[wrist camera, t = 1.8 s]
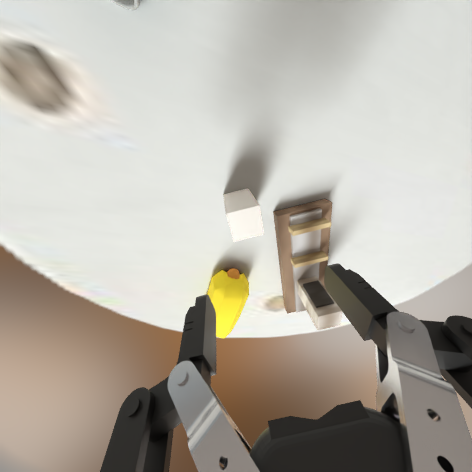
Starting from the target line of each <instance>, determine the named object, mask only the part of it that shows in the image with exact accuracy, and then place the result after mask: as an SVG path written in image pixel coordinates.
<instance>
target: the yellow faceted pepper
mask: <svg viewBox="0 0 472 472" xmlns="http://www.w3.org/2000/svg"><path fill="white" fill-rule="evenodd" d="M207 294H208V295H209V297H210V299H211V302H212V304H213V306H214V308H215V312H216V336H217V337H220V338H225V337H226V336H227V335H228V334H229V333H230V332H231V331H232V329H233V327H234V326H235V324H236V322H237V320H238V318H239V317H240V314H241V312H242V310H243V307H244V305H245V302H246V300H247V298H248V295H249V282H248V281H247V279H246V277H245V275H244V273H243V274H240V273H239V271H238V270H237V269H234V268H231V269H229V270H228V271H227V272H225V271H223V270H221V271H220V272H218V273H217V274H216V275H214V276H213V277H212V279H211V283H210V286H209V289H208V293H207Z"/></svg>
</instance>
